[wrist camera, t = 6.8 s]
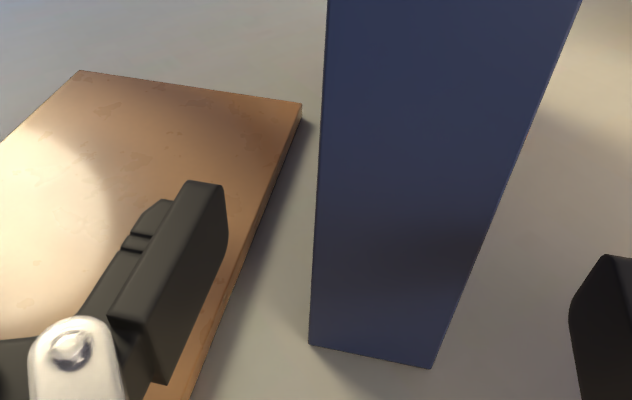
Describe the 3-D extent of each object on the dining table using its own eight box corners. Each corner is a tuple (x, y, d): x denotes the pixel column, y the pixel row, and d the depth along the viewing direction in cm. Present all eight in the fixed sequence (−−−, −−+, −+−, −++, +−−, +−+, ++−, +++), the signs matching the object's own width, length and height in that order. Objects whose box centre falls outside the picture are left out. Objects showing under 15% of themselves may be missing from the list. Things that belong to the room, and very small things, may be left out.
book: (432, 371, 16) (627, -96, 7) (305, 344, 16) (330, -124, 7) (445, 63, 30) (514, -221, 21) (377, 54, 31) (415, -228, 22)
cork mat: (106, 609, 11) (97, 604, 11) (-333, 484, 13) (-361, 473, 12) (302, 116, 26) (302, 102, 25) (83, 82, 27) (79, 69, 26)
